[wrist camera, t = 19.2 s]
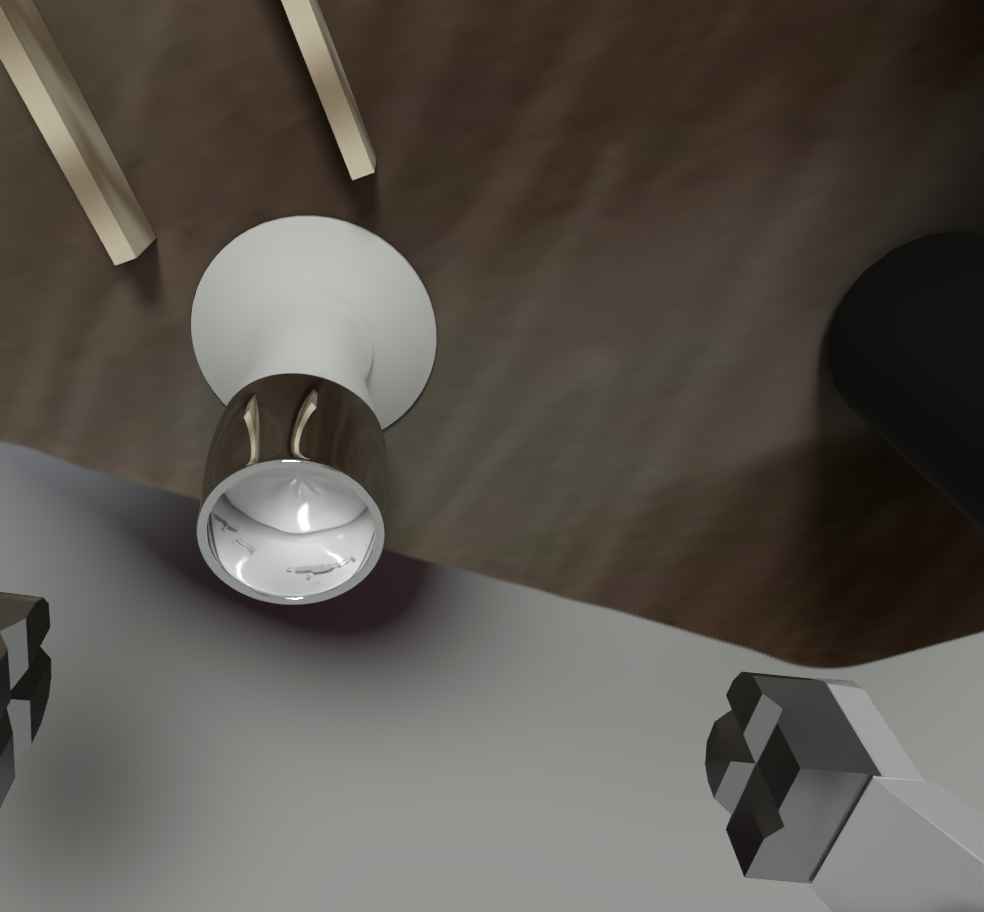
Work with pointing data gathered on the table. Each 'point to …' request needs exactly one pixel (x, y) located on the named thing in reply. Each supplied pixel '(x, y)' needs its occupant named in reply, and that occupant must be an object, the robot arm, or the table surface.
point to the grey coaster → (325, 270)
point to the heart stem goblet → (298, 459)
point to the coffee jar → (921, 360)
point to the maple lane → (83, 149)
